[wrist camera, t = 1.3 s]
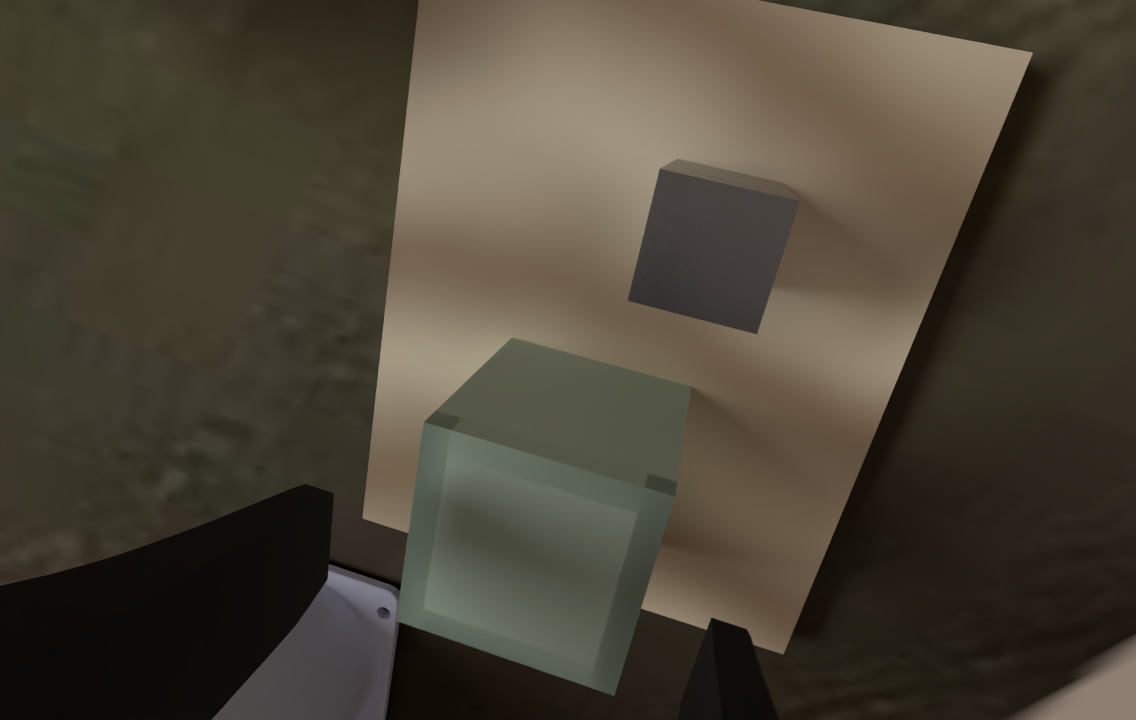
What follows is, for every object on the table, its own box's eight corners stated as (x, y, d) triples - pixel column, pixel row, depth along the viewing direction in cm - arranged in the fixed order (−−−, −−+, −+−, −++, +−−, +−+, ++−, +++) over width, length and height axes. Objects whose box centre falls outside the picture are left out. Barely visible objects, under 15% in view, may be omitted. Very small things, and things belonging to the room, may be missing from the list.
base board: (781, 631, 21) (783, 654, 21) (376, 502, 23) (362, 518, 22) (1014, 56, 15) (1033, 53, 14) (442, -53, 17) (425, -63, 16)
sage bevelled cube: (645, 541, 20) (614, 696, 15) (483, 491, 21) (396, 620, 16) (691, 386, 18) (675, 496, 13) (512, 337, 19) (423, 421, 14)
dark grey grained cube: (750, 284, 17) (757, 334, 13) (651, 260, 18) (627, 300, 13) (782, 182, 16) (799, 200, 12) (676, 158, 17) (659, 168, 13)
